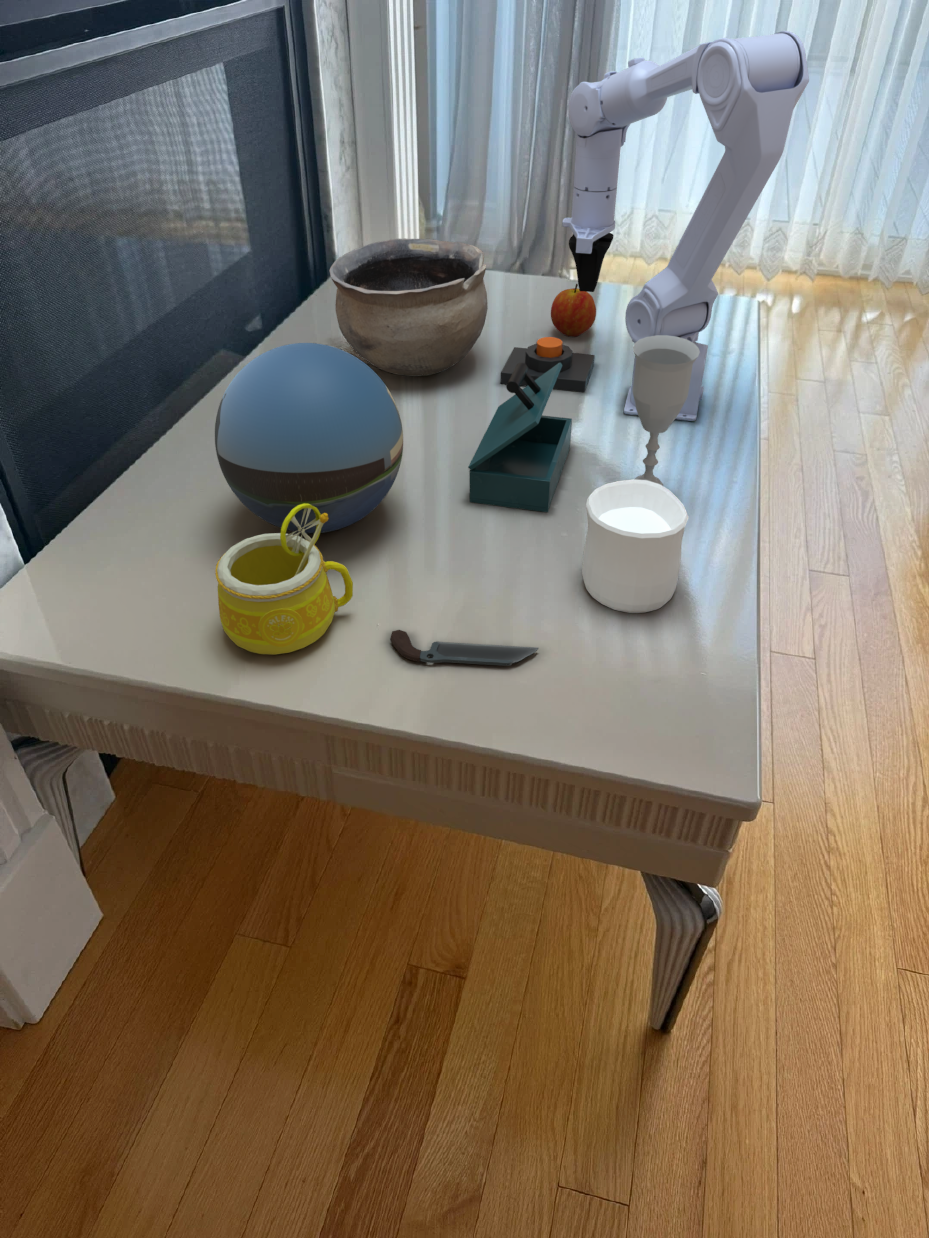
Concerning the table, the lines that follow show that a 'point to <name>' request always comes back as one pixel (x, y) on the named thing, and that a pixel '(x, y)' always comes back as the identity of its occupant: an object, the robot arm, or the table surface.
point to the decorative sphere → (309, 436)
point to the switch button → (549, 347)
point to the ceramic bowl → (411, 303)
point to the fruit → (573, 312)
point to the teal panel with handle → (516, 411)
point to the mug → (278, 589)
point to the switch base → (571, 373)
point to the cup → (633, 545)
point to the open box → (524, 468)
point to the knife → (461, 652)
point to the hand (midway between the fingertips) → (587, 290)
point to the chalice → (660, 387)
